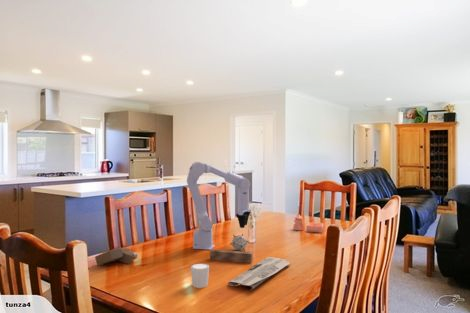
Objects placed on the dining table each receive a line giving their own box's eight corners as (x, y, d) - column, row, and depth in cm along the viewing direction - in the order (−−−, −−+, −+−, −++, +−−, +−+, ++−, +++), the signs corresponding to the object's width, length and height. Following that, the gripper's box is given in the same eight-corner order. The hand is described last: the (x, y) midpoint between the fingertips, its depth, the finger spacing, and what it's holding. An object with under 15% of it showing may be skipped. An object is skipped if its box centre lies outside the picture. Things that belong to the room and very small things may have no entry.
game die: (241, 258, 169) (246, 246, 163) (226, 251, 170) (230, 239, 164) (247, 246, 176) (251, 233, 170) (232, 239, 177) (236, 226, 171)
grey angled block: (143, 266, 156) (112, 272, 141) (123, 258, 163) (91, 263, 147) (146, 250, 157) (116, 254, 141) (126, 242, 163) (94, 246, 148)
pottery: (323, 230, 215) (323, 214, 215) (321, 233, 206) (321, 217, 206) (294, 227, 221) (294, 212, 221) (292, 231, 212) (292, 215, 212)
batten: (210, 259, 156) (210, 251, 156) (211, 258, 158) (211, 249, 158) (251, 263, 151) (251, 254, 151) (252, 261, 153) (252, 252, 153)
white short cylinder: (191, 281, 130) (191, 263, 129) (209, 281, 130) (209, 262, 130) (190, 289, 123) (190, 269, 123) (209, 288, 123) (209, 269, 123)
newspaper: (266, 261, 155) (266, 253, 155) (292, 265, 149) (292, 257, 149) (225, 288, 125) (225, 278, 125) (256, 295, 119) (256, 285, 119)
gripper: (248, 202, 171) (248, 229, 172) (253, 198, 186) (253, 223, 186) (234, 202, 173) (234, 229, 173) (240, 198, 187) (241, 223, 187)
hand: (243, 226), depth 180 cm, fingers open, 6 cm apart
